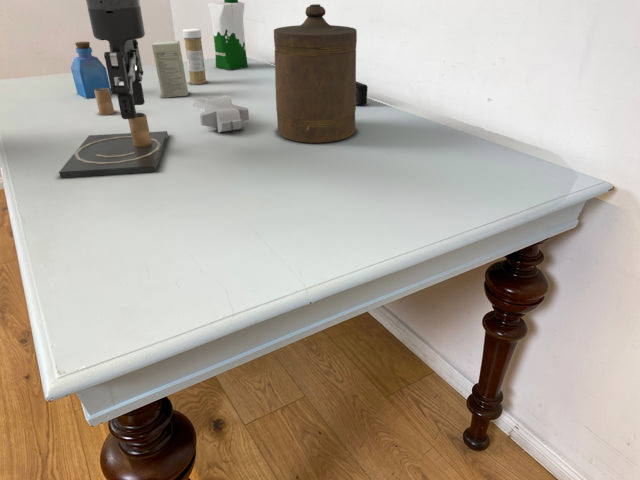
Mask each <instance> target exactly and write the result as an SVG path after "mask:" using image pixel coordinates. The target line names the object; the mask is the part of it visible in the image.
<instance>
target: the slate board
mask: <svg viewBox="0 0 640 480" xmlns="http://www.w3.org/2000/svg"><path fill="white" fill-rule="evenodd" d="M149 132H150V137H151V144H150V145H148V146H145V147H136V146H134V145H133V140H132V135H131V132H127V133H126V132H125V133H124V132H123V133H110V134H109V133H108V134H106V133H105V134H90V135H88V136H87V137H86V138H85V139H84V140H83V142H82V143H81V144H80V145H79V147H78V148H77V149H76V150H75V152H74V153H73V154H72V155H71V157H70V158H69V159H68V160H67V161H66V162H65V164H64V165H63V166H62V167H61V169H60V170H59V171H58V174H59V177H60V178H61V179H66V178H80V177H82V178H83V177H94V176H95V177H97V176H114V175H127V174H143V173H145V174H146V173H155V172H156V171H157V168H158V165H159V163H160V160H161V156H162V155H163V152H164V148H165V145H166V143H167V140H168V138H169V134H168V131H167V130H163V131H161V130H160V131H149Z"/></svg>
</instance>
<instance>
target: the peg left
mask: <svg viewBox="0 0 640 480" xmlns="http://www.w3.org/2000/svg"><path fill="white" fill-rule="evenodd" d="M94 92H95V96H96V97H95V99H96V105H97V109H98V113H99V115H101V116H107V115H108V116H110V115H113V114H115V109H114V104H113V99H112V96H111V95H112V94H110V90H109V89H108V88H98V89H96V90H94Z"/></svg>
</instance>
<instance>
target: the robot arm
mask: <svg viewBox="0 0 640 480" xmlns="http://www.w3.org/2000/svg"><path fill="white" fill-rule="evenodd" d="M85 2H86V6H87V7H86V8H87V12H88V16H89V22H90V25H91V31H92V35H93V37H94V38H95V39H97V40H99V41H107V42H108V44H109V45H108V47H109V51H104V54H103V58H104V60H105V61H104V62H105V65H106V66H105V67H106V71H107V75H108V80H109V84H110V89H111V93H112V94H111V95H115V96H117V102H118V107H119V112H120V116H121V119H122V120H128V119H135V118H136V116H137V115H136V113H137V110H136V106H144V104H145V101H146V100H145V96H144V95H145V94H144V90H143V84H142V82H143V77H144V70H143V66H142V61H141V60H142V59H141V55H140V50H139V49H140V48H139V41H138V40H139V39H142V38H145V35H146V32H145V27H144V20H143V15H142V7H141V1H140V0H85ZM120 83H123V85H122V84H120Z"/></svg>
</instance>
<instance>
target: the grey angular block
mask: <svg viewBox="0 0 640 480" xmlns="http://www.w3.org/2000/svg"><path fill="white" fill-rule="evenodd" d="M193 106H194V107H195V108H198V109H203V110H204V111H203V112H201V113H200V114H199V120H200V125H201V126H202V127H212V128H217V133H225V132H232V131H238V130H241V129H243V122H246V121H249V119H250V114H249V113H250V111H249V108H248V107H244V106H240V105H236V104H233V101H232V98H231V96H229V95H225V94H224V95H221V96H217V97H209V98H201V97H200V98H198V97H197V98H195V99H194V102H193Z"/></svg>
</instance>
